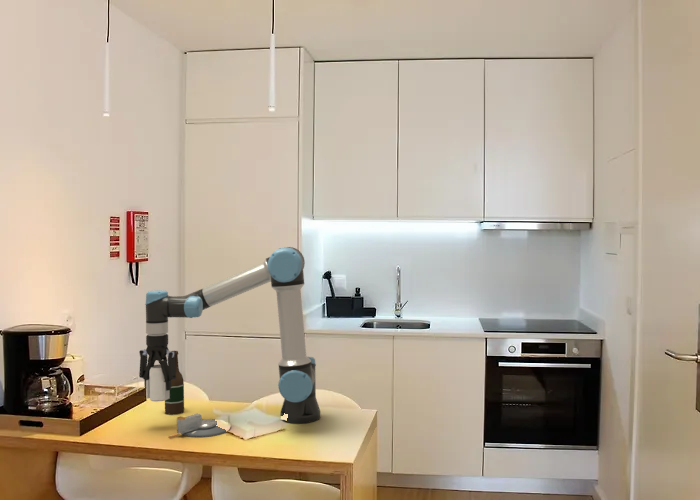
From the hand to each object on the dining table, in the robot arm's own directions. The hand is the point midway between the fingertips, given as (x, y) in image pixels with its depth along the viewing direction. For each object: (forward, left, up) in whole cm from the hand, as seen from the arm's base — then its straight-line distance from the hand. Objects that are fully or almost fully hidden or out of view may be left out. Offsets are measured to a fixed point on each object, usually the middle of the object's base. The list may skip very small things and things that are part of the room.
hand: (157, 398), depth 223 cm
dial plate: (-16, -5, -11) cm, 20 cm away
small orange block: (-10, +6, -11) cm, 16 cm away
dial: (-15, -2, -10) cm, 18 cm away
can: (0, -1, -1) cm, 1 cm away
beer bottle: (+7, -20, -11) cm, 24 cm away
